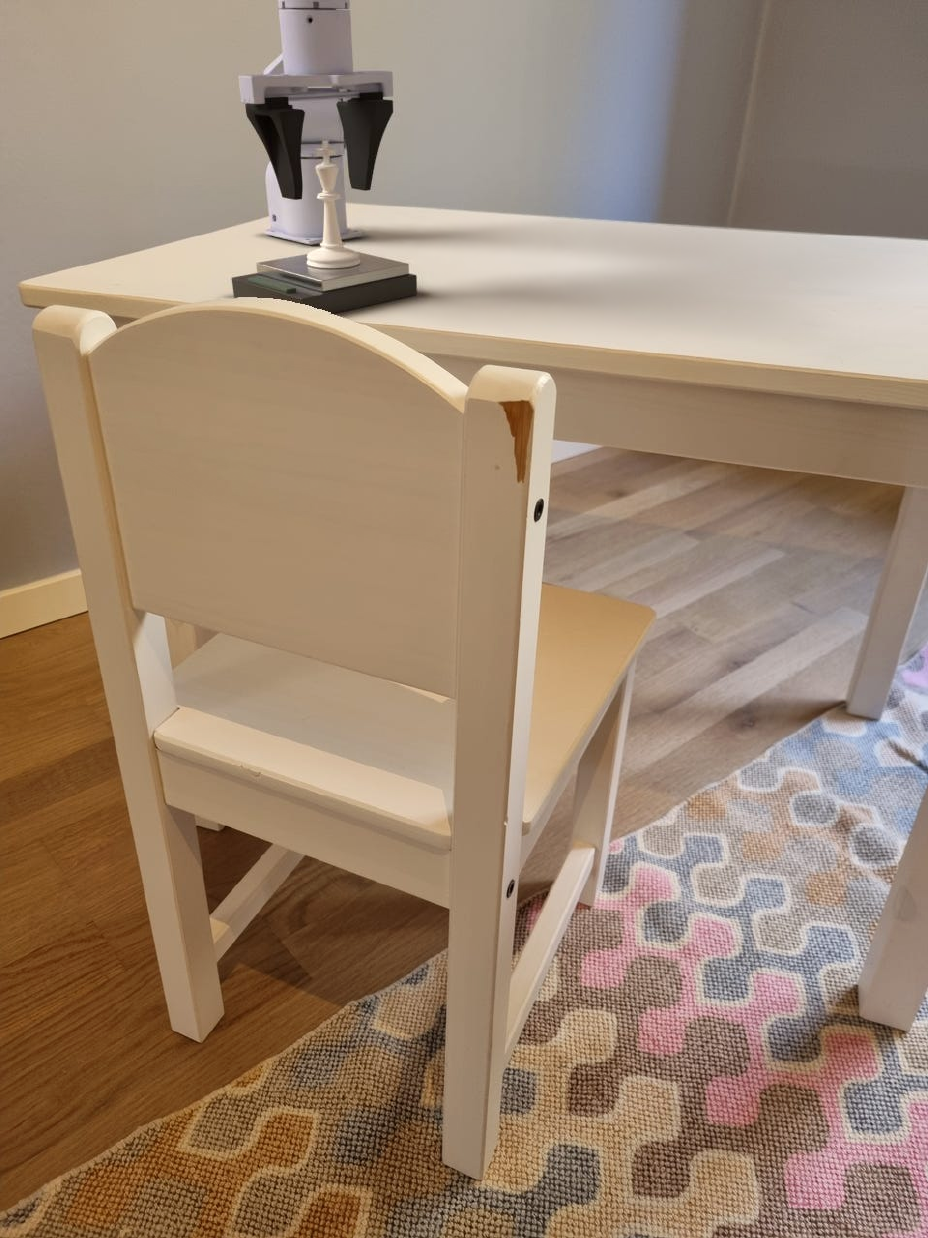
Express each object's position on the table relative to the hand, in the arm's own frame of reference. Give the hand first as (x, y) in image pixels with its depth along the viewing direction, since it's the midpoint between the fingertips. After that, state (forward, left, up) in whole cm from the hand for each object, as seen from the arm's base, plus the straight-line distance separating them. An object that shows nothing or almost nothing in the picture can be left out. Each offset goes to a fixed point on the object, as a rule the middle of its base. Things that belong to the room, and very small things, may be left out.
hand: (327, 193), depth 82 cm
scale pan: (0, 0, -7) cm, 7 cm away
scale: (0, -1, -9) cm, 9 cm away
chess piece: (0, 0, -6) cm, 6 cm away
